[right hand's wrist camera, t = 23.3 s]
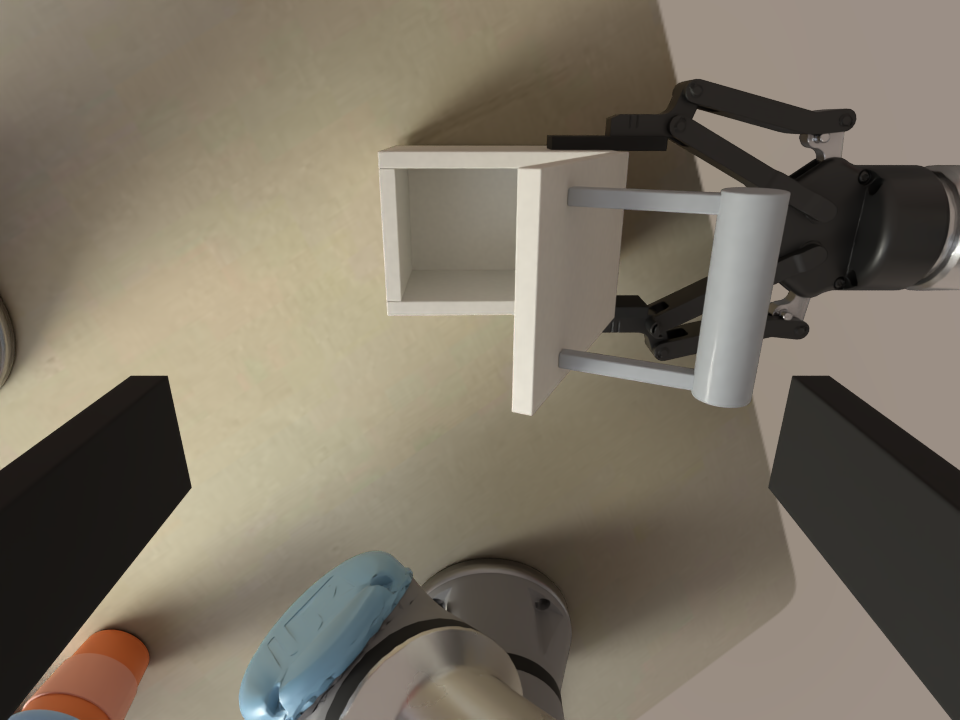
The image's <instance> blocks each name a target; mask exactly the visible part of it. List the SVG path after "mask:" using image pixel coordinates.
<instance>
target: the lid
mask: <svg viewBox="0 0 960 720" xmlns="http://www.w3.org/2000/svg"><path fill="white" fill-rule="evenodd" d="M628 159H629V152H608V153H602V154H596V155H590V156H584V157H578V158H572V159H566V160H560V161H554V162H548V163H542V164H536V165H531V166H525V167H519V168H518V181H517V222H516V264H515V306H514V347H513V389H512V412H516V413H521V414H526V415H530V416H532V415H533V414H534V413H535V412H536V411H537V409H538V408H539V407H540V406H541V405H542V403H543V402H544V401H545V400H546V399H547V397H548V396H549V395H550V394H551V393H552V391H553V390H554V389H555V388H556V387H557V385H558V384H559V383H560V382H561V381H562V379H563V378H564V377H565V376H566V375H567V373H568V372H569V371H570V370H575V371H581V372H587V373H592V374H598V375H604V376H610V377H616V378H622V379H628V380H634V381H640V382H645V383H651V384H657V385H663V386H669V387H675V388H681V389H687V390H691V392H692V394H693V396H694V397H695V398H696V399H698V400H700V401H702V402H704V403H707V404H710V405H713V406H718V407H725V408H737V407H743V406H746V405H748V404H749V403H750V402H751V398H752V393H753V388H754V383H755V378H756V372H757V367H758V362H759V356H760V351H761V346H762V341H763V336H764V330H765V325H766V320H767V315H768V309H769V304H770V299H771V294H772V288H773V283H774V278H775V273H776V267H777V262H778V257H779V252H780V246H781V241H782V236H783V231H784V225H785V220H786V215H787V210H788V204H789V199H790V192H789V191H786V190H780V189H770V188H750V187H736V188H725V189H722V190H721V193H718V192H695V191H672V190H650V189H627V188H626V182H627V171H628ZM624 209H627V210H645V211H662V212H679V213H697V214H714V215H717V220H716V227H715V234H714V241H713V247H712V254H711V261H710V268H709V274H708V281H707V288H706V295H705V301H704V308H703V315H702V322H701V328H700V335H699V342H698V349H697V355H696V362H695V369H692V368H686V367H679V366H673V365H666V364H660V363H654V362H647V361H641V360H634V359H628V358H621V357H615V356H609V355H602V354H596V353H589V352H586V351H587V349H588V348H589V347H590V346H591V345H592V343H593V342H594V341H595V340H596V339H597V337H598V336H599V335H600V334H601V333H602V332H603V330H604V329H605V328H606V327H607V326H608V324H609V323H610V322H611V321H612V320H613V318H614V315H615V304H616V293H617V282H618V271H619V259H620V248H621V237H622V226H623V215H624Z"/></svg>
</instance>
